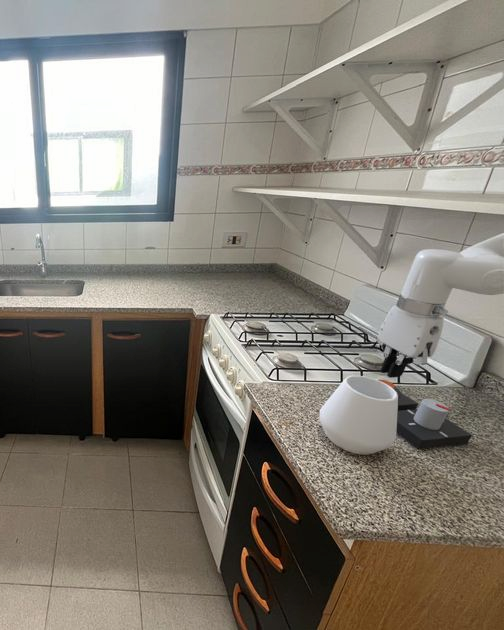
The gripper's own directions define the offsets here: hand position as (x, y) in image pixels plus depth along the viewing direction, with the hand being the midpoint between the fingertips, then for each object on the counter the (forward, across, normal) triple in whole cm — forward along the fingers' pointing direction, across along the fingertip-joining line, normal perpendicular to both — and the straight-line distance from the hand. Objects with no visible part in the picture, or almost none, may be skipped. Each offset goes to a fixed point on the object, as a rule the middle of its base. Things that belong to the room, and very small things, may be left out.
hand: (390, 374), depth 85 cm
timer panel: (+8, -11, 0) cm, 14 cm away
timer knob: (+6, -11, 0) cm, 12 cm away
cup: (+8, -11, +18) cm, 23 cm away
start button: (+5, 0, 0) cm, 5 cm away
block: (+8, 0, 0) cm, 8 cm away
